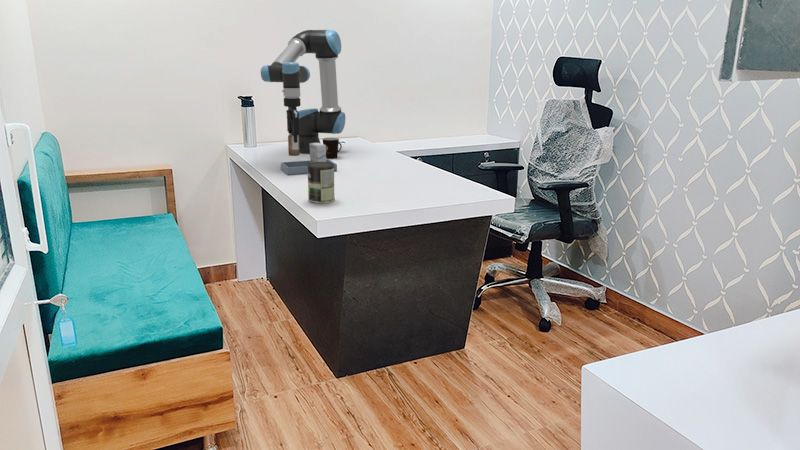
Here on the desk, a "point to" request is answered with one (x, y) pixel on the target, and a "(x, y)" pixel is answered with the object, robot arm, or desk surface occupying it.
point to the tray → (299, 167)
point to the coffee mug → (331, 147)
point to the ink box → (317, 152)
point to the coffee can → (321, 182)
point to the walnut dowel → (291, 152)
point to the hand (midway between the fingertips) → (293, 148)
